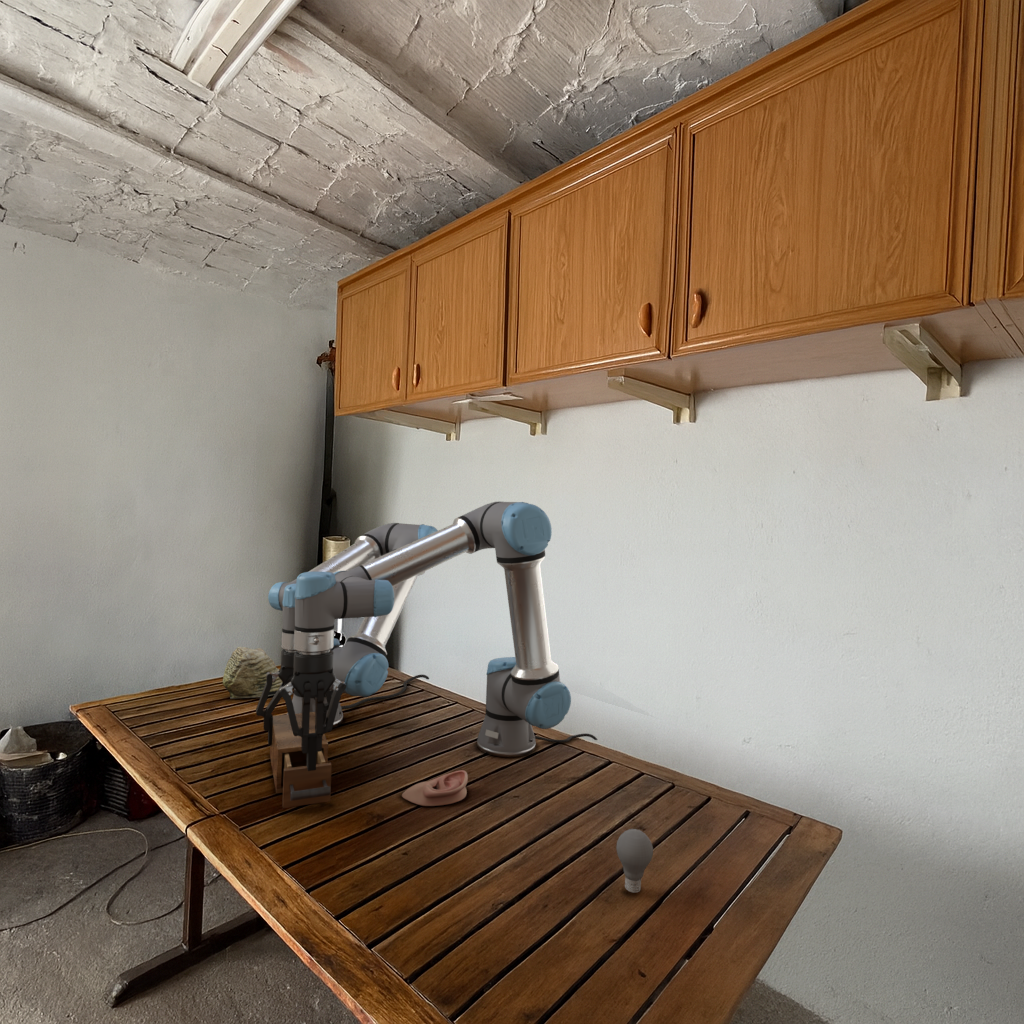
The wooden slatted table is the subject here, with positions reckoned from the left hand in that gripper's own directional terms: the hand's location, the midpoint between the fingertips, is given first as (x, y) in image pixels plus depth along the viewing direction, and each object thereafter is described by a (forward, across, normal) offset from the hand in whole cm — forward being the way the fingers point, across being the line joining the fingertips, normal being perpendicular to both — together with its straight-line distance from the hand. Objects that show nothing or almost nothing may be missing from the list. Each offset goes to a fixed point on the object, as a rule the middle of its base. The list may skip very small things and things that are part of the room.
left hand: (294, 740), depth 152 cm
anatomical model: (+4, +26, -29) cm, 39 cm away
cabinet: (+4, 0, -6) cm, 8 cm away
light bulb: (+5, +47, -72) cm, 86 cm away
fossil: (+4, -7, +54) cm, 54 cm away
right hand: (-5, 0, -28) cm, 29 cm away
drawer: (+3, 0, -19) cm, 19 cm away
